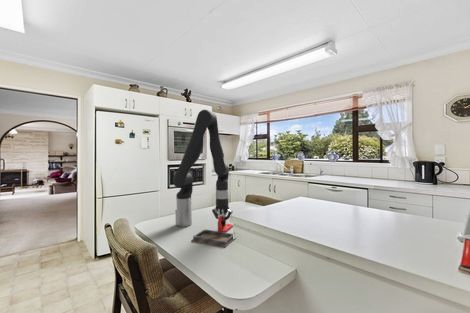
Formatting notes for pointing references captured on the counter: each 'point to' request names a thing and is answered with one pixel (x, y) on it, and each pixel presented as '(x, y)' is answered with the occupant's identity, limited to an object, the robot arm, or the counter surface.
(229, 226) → the bracket
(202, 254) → the counter surface
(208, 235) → the plate
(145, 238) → the counter surface
